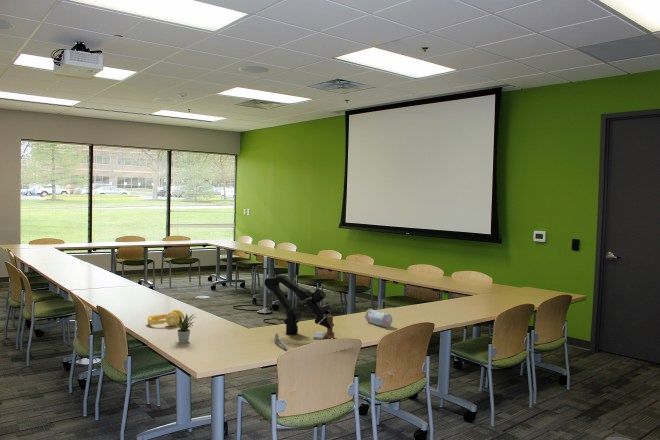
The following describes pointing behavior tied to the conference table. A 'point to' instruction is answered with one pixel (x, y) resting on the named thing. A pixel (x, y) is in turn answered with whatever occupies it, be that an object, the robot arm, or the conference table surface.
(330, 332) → the marking gauge
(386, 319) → the pencil case
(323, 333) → the board
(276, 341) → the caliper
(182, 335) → the house plant
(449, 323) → the conference table surface
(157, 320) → the headset
